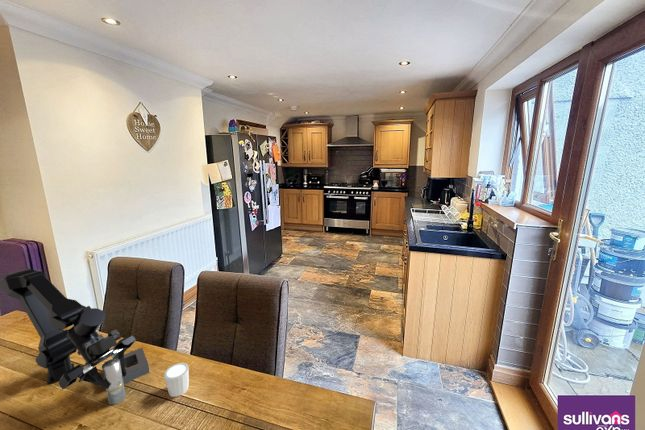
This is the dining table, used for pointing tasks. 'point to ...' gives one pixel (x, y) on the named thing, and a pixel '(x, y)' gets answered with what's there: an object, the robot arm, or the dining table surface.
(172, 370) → the white cylinder
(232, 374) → the dining table surface
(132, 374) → the collar block
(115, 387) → the grey rounded cylinder
